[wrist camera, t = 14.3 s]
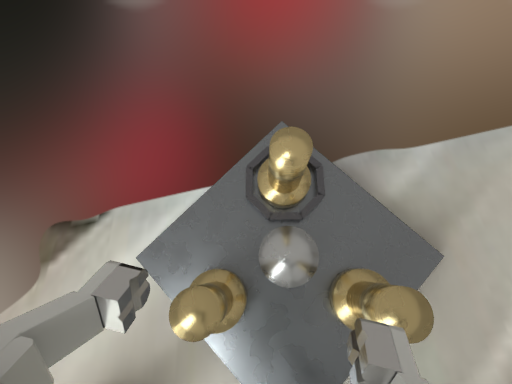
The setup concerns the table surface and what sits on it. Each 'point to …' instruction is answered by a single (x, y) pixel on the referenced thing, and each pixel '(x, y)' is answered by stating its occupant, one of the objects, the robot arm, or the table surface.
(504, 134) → the table surface
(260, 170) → the gold flared cylinder
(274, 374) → the carrier plate
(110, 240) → the table surface
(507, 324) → the table surface
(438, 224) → the table surface
